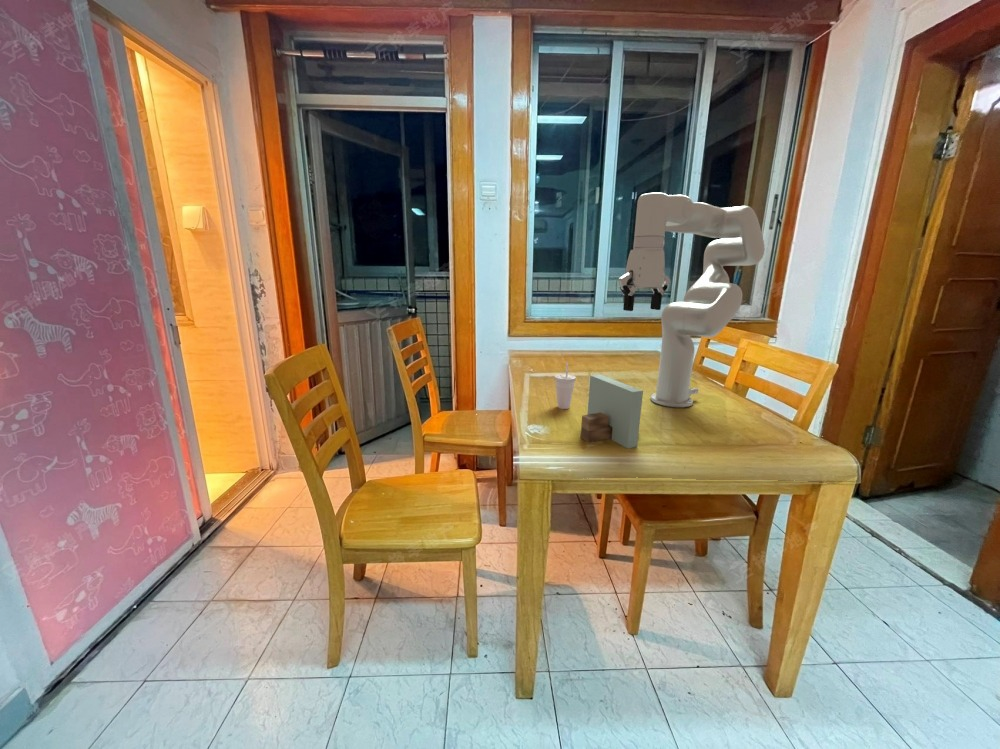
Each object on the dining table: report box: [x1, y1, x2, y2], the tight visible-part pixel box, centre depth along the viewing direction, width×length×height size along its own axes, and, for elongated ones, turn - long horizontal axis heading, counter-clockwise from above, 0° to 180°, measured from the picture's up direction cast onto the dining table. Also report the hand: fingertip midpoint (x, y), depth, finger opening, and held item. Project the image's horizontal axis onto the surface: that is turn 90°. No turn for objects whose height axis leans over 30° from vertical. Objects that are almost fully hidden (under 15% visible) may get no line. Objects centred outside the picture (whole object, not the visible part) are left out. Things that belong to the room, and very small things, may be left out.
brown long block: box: [580, 412, 613, 443], centre depth 102 cm, size 16×3×6 cm, turn 114°
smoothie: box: [554, 362, 577, 410], centre depth 122 cm, size 6×6×14 cm
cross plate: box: [586, 373, 644, 449], centre depth 101 cm, size 16×3×14 cm, turn 24°
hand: (641, 310), depth 110 cm, fingers open, 9 cm apart
